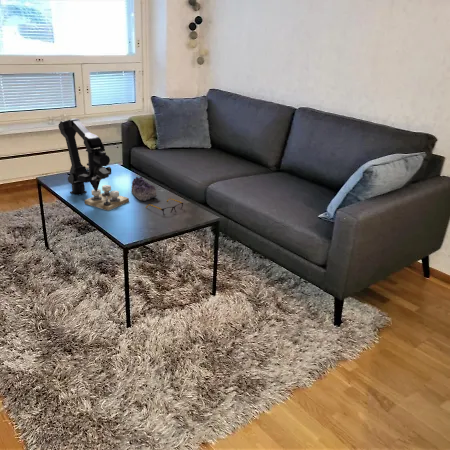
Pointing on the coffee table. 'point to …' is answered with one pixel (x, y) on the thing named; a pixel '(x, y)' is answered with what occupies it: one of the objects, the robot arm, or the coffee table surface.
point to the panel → (102, 199)
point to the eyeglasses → (168, 207)
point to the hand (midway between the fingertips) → (95, 190)
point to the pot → (107, 202)
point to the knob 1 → (96, 193)
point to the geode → (143, 189)
